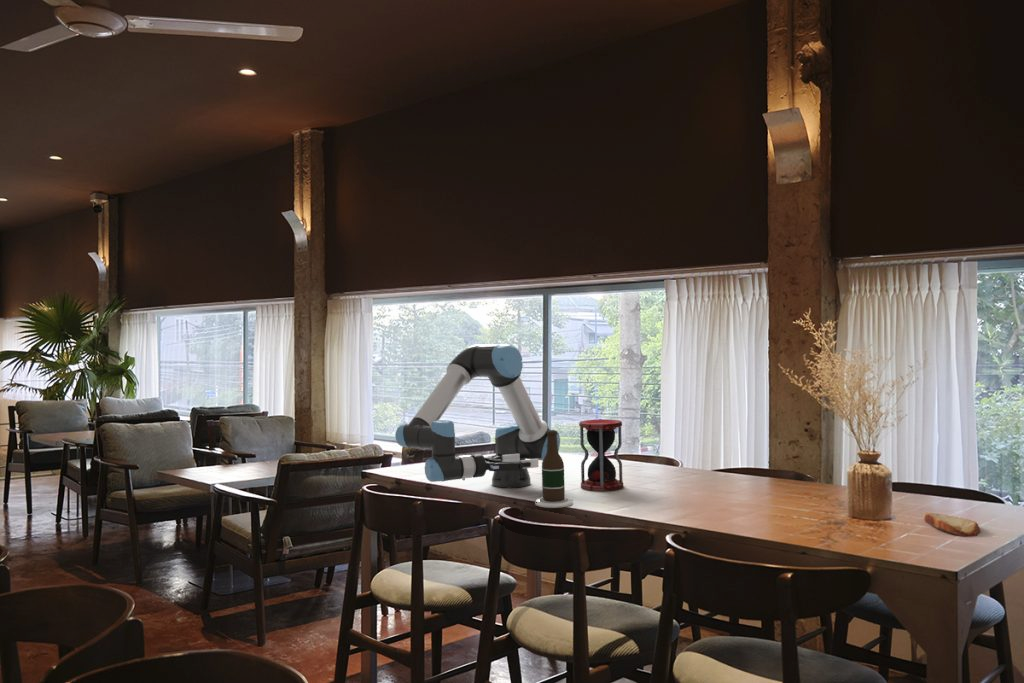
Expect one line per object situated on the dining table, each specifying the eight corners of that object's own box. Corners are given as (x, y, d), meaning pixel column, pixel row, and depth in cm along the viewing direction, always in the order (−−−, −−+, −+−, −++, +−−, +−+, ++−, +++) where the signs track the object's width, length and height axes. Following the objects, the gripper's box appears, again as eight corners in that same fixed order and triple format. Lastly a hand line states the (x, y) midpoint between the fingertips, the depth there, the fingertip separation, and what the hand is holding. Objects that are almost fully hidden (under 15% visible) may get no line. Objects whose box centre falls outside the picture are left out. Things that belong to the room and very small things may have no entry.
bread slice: (927, 518, 253) (927, 506, 253) (993, 527, 240) (992, 514, 240) (904, 529, 241) (904, 516, 241) (972, 539, 228) (971, 526, 228)
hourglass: (580, 491, 305) (578, 424, 304) (581, 483, 321) (579, 419, 320) (624, 491, 303) (622, 423, 303) (622, 482, 319) (621, 418, 319)
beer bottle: (563, 502, 281) (561, 432, 280) (540, 501, 282) (539, 432, 282) (566, 497, 288) (564, 429, 288) (544, 497, 290) (542, 429, 289)
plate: (535, 499, 292) (535, 496, 292) (572, 499, 291) (572, 495, 291) (534, 508, 279) (534, 503, 279) (573, 507, 278) (572, 503, 278)
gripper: (457, 472, 282) (512, 465, 292) (487, 483, 260) (546, 476, 270) (456, 450, 282) (511, 444, 292) (487, 459, 260) (545, 453, 269)
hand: (528, 460), depth 281 cm, fingers open, 13 cm apart
